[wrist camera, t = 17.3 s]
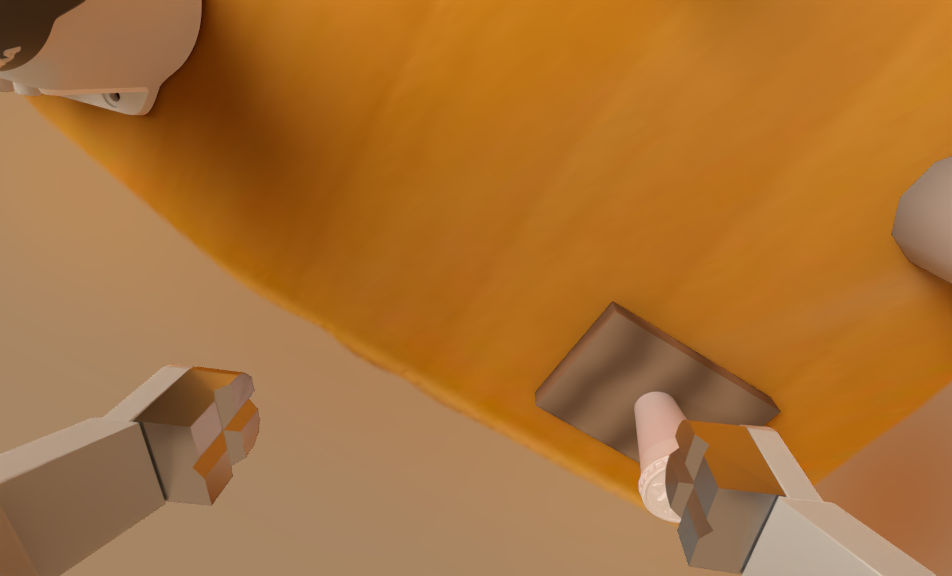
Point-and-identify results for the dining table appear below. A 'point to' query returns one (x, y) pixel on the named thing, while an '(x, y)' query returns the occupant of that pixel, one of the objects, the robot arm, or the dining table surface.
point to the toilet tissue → (928, 221)
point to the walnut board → (642, 382)
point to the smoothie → (656, 449)
